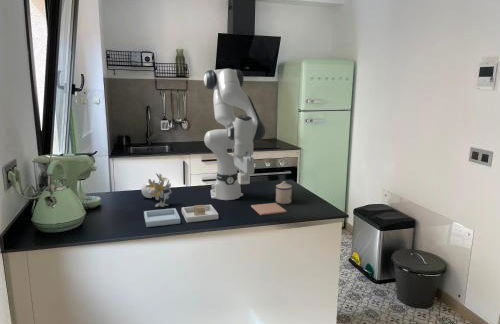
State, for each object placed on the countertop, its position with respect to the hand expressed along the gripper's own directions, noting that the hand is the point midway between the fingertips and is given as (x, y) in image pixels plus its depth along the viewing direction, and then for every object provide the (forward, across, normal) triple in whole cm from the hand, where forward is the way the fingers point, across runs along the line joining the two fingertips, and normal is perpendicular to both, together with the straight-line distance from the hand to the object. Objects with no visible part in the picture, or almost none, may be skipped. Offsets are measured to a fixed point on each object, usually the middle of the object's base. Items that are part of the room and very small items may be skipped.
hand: (243, 179), depth 175 cm
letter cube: (+2, 0, 0) cm, 2 cm away
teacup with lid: (+19, +18, -29) cm, 39 cm away
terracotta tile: (+19, +7, -16) cm, 26 cm away
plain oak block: (+18, +7, +20) cm, 28 cm away
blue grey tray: (+19, +7, +38) cm, 43 cm away
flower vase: (+19, +38, +38) cm, 57 cm away
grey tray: (+19, +7, +20) cm, 29 cm away
